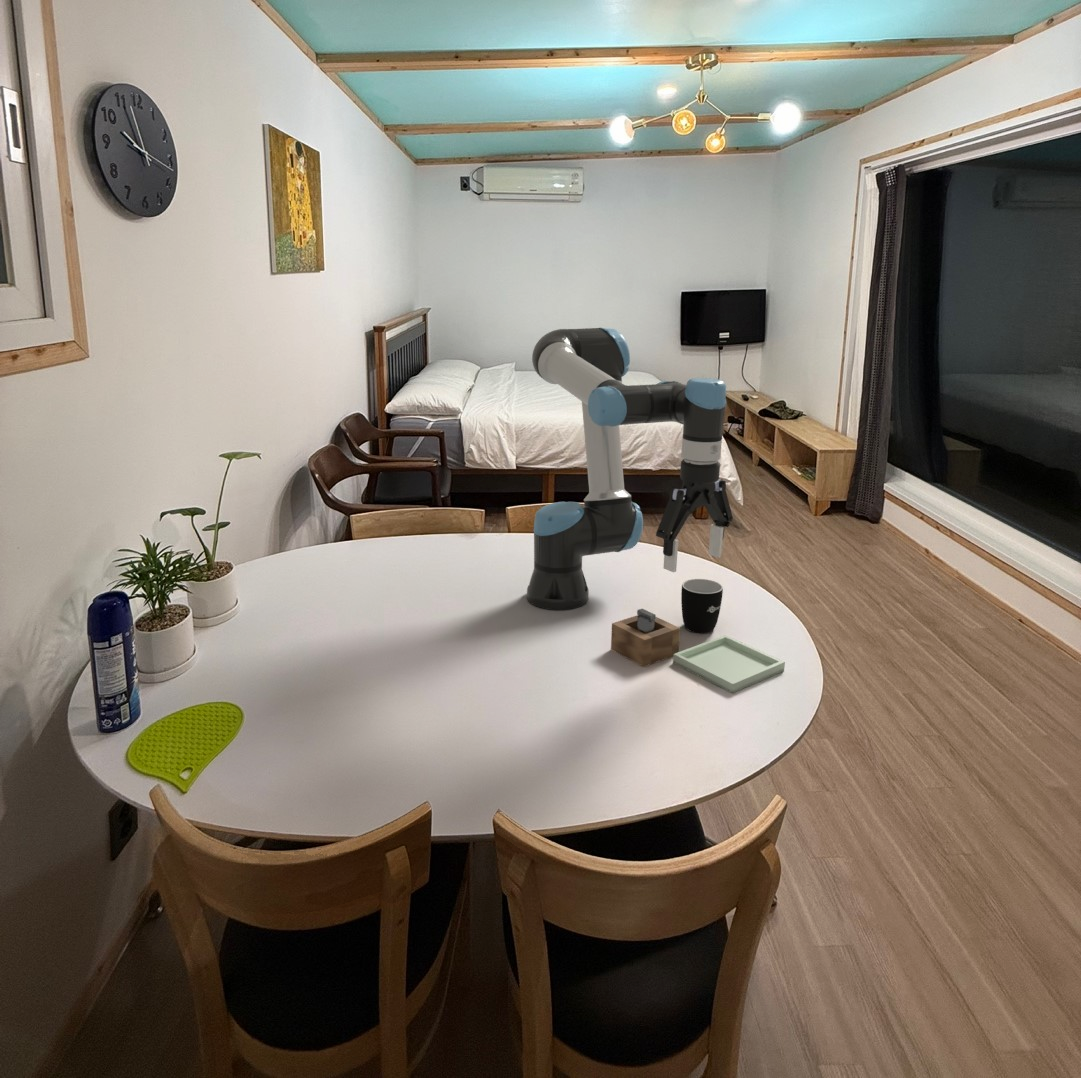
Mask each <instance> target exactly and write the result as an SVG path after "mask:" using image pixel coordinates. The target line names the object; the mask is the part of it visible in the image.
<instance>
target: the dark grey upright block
mask: <svg viewBox="0 0 1081 1078" xmlns="http://www.w3.org/2000/svg"><path fill="white" fill-rule="evenodd" d="M636 612H637V613H636V616H637V615H638V617H637V630H638V631H640V632H642V633H644V634H647V633H650V632H653V631H654V626H655V618H656V617H657V616H656V615H657V614H655V613H653V612H651V611H648V610H646V609H644V608H639V609H637V610H636Z"/></svg>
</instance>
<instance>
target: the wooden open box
mask: <svg viewBox="0 0 1081 1078" xmlns="http://www.w3.org/2000/svg"><path fill="white" fill-rule="evenodd" d="M637 617H638V615H637V614H636V615H633V616H631V617H627V618H624V619H622V620H621V619H620V620H619V621H616V622H611V638H610V650H612V651H614V652H615V653H618V655H621V656H622V657H624V658H626V659H627V660H629V661H632V662H633V663H636V664H637V665H639V666H640V667H643V668H644V667H645V668H646V667H647V666H650V665H653V664H656V663H658V662H661V661H663V660H666V659H669V658H672V657H673V656H674V654H675V653H678V652H680V651H679V650H680V637H681V636H680V635H681V627H680V626H677V625H675V624H673V623H670V622H669V621H666V620H664V619H662V618H660V617H658V616H656V618H655V626H654V631H653V632H650V633H647V634H644V633H642V632H640V631H638V630H637Z"/></svg>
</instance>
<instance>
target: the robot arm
mask: <svg viewBox="0 0 1081 1078" xmlns="http://www.w3.org/2000/svg"><path fill="white" fill-rule="evenodd" d="M531 360H532V366H533V369H534V371H535V372H536V374H537V375H538V376H539V377H540V378H541V379H542V380H544V381H545V382H547V383H549V384H552V385H558V386H560V387H561V388H562V389H564V390H565V391H567V392H568V393H569V394H571V395H572V396H573V397H576V399H578V400H579V401H581V410H582V420H583V423H582V424H583V432H584V444H585V455H586V467H587V480H588V491H589V492H588V494H587V495H586V496H585V498H584V499H583V505H584V506H583V505H582V503H580V502H577V501H558V502H552V503H549V504H546V505H544V506H541V507H540V508H539V509H538V510H537V511H536V513H534V514H535V516H534V523H533V528H532V529H533V570H532V574H531V577H530V581H529V584H528V586H527V589H526V599H527V601H528V603H530V604H531V605H533V606H535V607H538V608H541V609H546V610H554V611H556V610H558V611H560V610H561V611H562V610H572V609H576V608H579V607H582V606H584V605H585V604H587V602H588V601H589V594H590V593H589V587H588V584H587V580H586V577H585V574H584V572H583V557H584V556H594V555H600V554H607V553H609V554H610V553H620V552H622V551H627V550H632V549H633V548H635V547H636V546H637V544H638V543H639V541H640V540H641V537H642V535H643V529H644V527H643V526H644V520H643V519H644V518H643V513H642V511H641V507H640V505H638V504H637V503H636V502H633V501H632V494H631V493H629V492H628V491H627V490H626V489H625V481H624V470H623V469H624V467H623V455H622V444H621V432H620V431H621V430H620V426H626V425H627V426H628V425H638V424H639V425H641V424H654V423H668V422H674V423H678V424H680V425H683V426H682V427H683V428H682V440H681V441H682V442H681V452H680V454H681V455H680V457H681V458H682V460H681V462H680V469H679V470H680V472H679V478H680V480H681V481H682V487H681V488H675V487H672V488H670V491H669V499H668V502H667V504H666V507H665V509H664V512H663V514H662V517H661V520H660V522H659V525H658V527H657V530H656V534H655V536H656V537H658V538H661V539H662V540H663V548H662V553H663V567H662V568H663V569H664V570H667V571H669V572H671V573H676V572H677V565H678V551H679V550H678V549H679V539H676V538H677V537H678V535H679V533H680V532H681V530H682V528H683V526H684V525H685V523H686V521H687V519H688V517H689V516H690V514H691V513H693V512H694V511H695V510H696V509H699V508H701V507H704V508H705V509H706V511H707V513H708V514H709V517H710V518H711V520H712V521H713V523H712V524H710V531H709V544H708V555H710V556H712V557H714V558H718V559H719V558H722V552H723V551H722V550H723V540H724V537H725V527H726V528H729V527H730V525H731V522H732V521H733V519H734V518H733V517H734V516H733V514H732V510H731V506H730V502H729V497H728V494H727V490H726V489H727V485H726V484H727V482H726V480H724V479H720V471H721V470H720V469H721V463H720V462H719V460H721V454H722V445H723V443H722V442H723V435H724V424H725V415H726V414H725V413H726V406H727V399H726V396H727V386H726V383H725V381H723V380H721V379H716V378H710V377H709V378H707V377H697V378H691V379H689V380H688V381H687V382H686V384H684V383H682V382H679V381H676V380H672V381H670V380H662V381H659V382H658V383H655V384H654V383H653V384H637V385H635V384H634V385H630V384H629V385H626V384H624V383H623V378H622V377H624V376H625V375H626V374H627V373H628V371H629V369H630V367H629V366H630V362H631V357H630V349H629V345H628V343H627V339H626V338H625V337H624V336H623V335H622V333H621V332H620V331H619V330H617V329H615V328H605V327H604V328H603V327H594V328H593V327H590V328H589V327H588V328H587V327H586V328H559V329H556V330H555V329H554V330H552V331H549V332H547V333H546V334H544V335H543V336H542V337H541V338H540V339H538V341H537V343H536V344H535V346H534V348H533V350H532V358H531Z"/></svg>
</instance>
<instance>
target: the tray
mask: <svg viewBox="0 0 1081 1078" xmlns="http://www.w3.org/2000/svg"><path fill="white" fill-rule="evenodd" d="M672 657H673V659H672V660H673V661H672V663H673V664H674V665H677V666H678V667H680V668H682V669H684V670H686V671H688V672H690V673H691V674H694V675H696V676H697V677H700V678H701V679H703V680H705V681H707V682H709V683H711V684H713V685H715V686H717V687H719V688H721V689H723V690H725V691H726V692H728V693H731V694H735V693H736V692H739V691H741V690H743V689H746V688H748V687H750V686H753V685H755V684H757V683H760V682H762V681H764V680H766V679H769V678H771V677H773V676H776V675H778V674H780V673H782V672H784V671H785V665H786V662H785V661H783V660H782V659H780V658H777V657H775V656H772V655H771V654H769V653H766V652H764V651H761V650H760V649H757V648H755V647H753V646H750V645H748V644H746V643H743V642H742V641H739V640H737V639H735V638H732V637H730V636H728V635H726V634H724V635H720V636H719V637H716V638H713V639H711V640H708V641H705V642H702V643H700V644H696V645H694V646H692V647H689V648H686V649H684V650H681V651H679V652H678V653H675V654H674V656H672Z"/></svg>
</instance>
